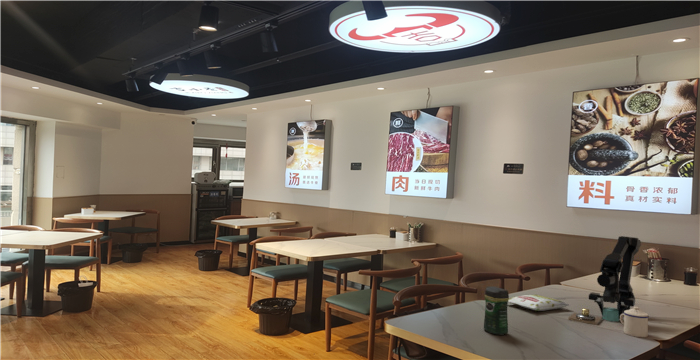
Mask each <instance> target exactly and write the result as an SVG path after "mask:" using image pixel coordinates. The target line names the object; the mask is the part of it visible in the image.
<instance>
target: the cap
mask: <svg viewBox="0 0 700 360" xmlns="http://www.w3.org/2000/svg"><path fill="white" fill-rule="evenodd" d="M602 320H605V321H608V322H614V323H615V322H620V319H619V309H617V307H610V306H609V307H608V306H606V307H604V308H603V316H602Z"/></svg>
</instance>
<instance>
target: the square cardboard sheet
mask: <svg viewBox="0 0 700 360" xmlns="http://www.w3.org/2000/svg"><path fill="white" fill-rule="evenodd" d="M567 320H568V321H573V322H577V323H578V322H579V323H583V324H589V325H594V326H598V325H599V324H600V323H601V322H602V321H603V317H601V316H595V315H593V314H590V309H589V308H582V309H581V313H578V312H574V313H572V314H571V315H570V316H569V317H568V319H567Z"/></svg>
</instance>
